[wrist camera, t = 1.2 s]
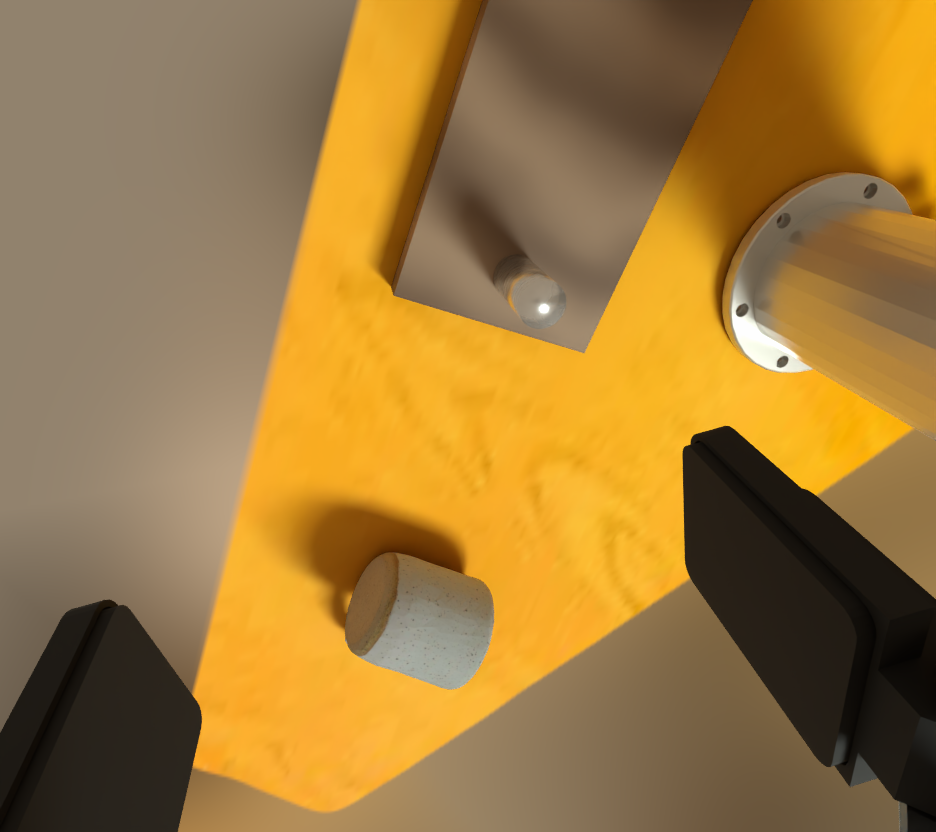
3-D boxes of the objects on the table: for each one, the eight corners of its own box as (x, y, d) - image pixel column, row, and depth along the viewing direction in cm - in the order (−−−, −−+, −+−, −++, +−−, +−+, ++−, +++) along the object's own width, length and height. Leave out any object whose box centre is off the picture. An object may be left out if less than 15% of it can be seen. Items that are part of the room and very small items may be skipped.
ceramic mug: (385, 524, 41) (394, 610, 34) (483, 558, 44) (508, 642, 38) (318, 626, 45) (315, 721, 38) (413, 650, 48) (425, 742, 41)
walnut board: (592, -345, 23) (608, -371, 22) (816, -173, 27) (841, -186, 26) (391, 287, 33) (393, 295, 32) (575, 343, 37) (584, 352, 36)
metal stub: (530, 248, 32) (561, 273, 28) (539, 289, 33) (570, 319, 29) (488, 262, 32) (513, 290, 28) (499, 303, 33) (524, 335, 29)
